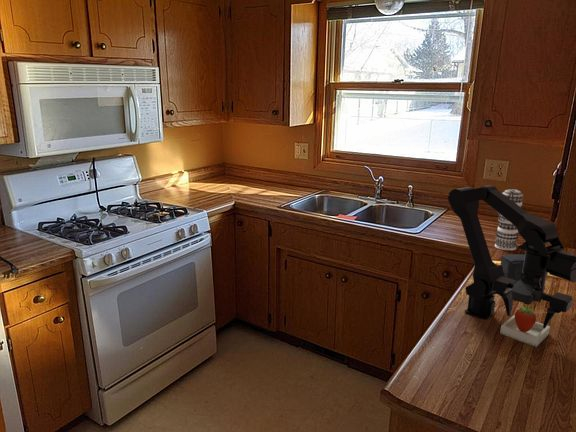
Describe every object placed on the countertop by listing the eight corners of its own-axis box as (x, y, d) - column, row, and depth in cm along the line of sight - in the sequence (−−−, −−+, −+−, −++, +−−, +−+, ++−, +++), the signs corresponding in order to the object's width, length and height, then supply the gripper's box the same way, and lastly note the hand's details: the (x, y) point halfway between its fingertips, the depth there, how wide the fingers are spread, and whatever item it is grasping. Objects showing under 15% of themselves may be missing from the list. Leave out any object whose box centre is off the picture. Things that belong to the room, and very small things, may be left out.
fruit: (508, 328, 126) (512, 302, 124) (522, 325, 128) (526, 299, 126) (524, 338, 122) (528, 310, 120) (538, 334, 123) (543, 307, 121)
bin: (500, 333, 125) (501, 325, 124) (513, 322, 131) (514, 314, 131) (536, 347, 118) (537, 338, 118) (548, 334, 125) (550, 326, 124)
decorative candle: (522, 249, 191) (531, 192, 185) (504, 251, 189) (512, 193, 182) (506, 242, 200) (514, 187, 193) (489, 244, 197) (496, 188, 191)
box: (518, 282, 159) (522, 253, 156) (528, 288, 154) (533, 259, 151) (497, 282, 158) (501, 254, 155) (506, 289, 153) (510, 260, 150)
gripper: (486, 266, 121) (479, 319, 125) (564, 288, 108) (553, 346, 112) (503, 256, 128) (496, 306, 132) (578, 275, 115) (567, 330, 119)
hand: (526, 321), depth 124 cm, fingers open, 9 cm apart
